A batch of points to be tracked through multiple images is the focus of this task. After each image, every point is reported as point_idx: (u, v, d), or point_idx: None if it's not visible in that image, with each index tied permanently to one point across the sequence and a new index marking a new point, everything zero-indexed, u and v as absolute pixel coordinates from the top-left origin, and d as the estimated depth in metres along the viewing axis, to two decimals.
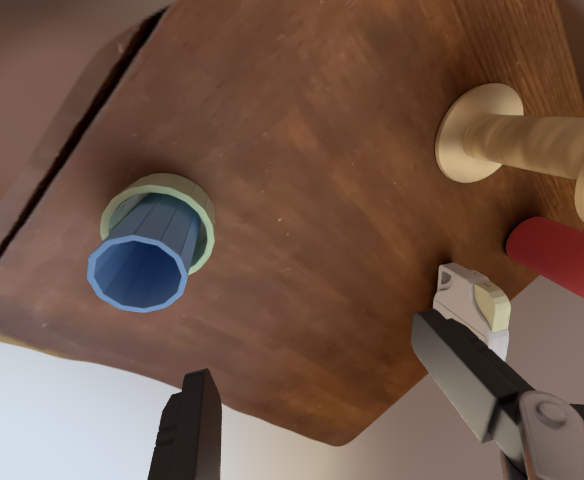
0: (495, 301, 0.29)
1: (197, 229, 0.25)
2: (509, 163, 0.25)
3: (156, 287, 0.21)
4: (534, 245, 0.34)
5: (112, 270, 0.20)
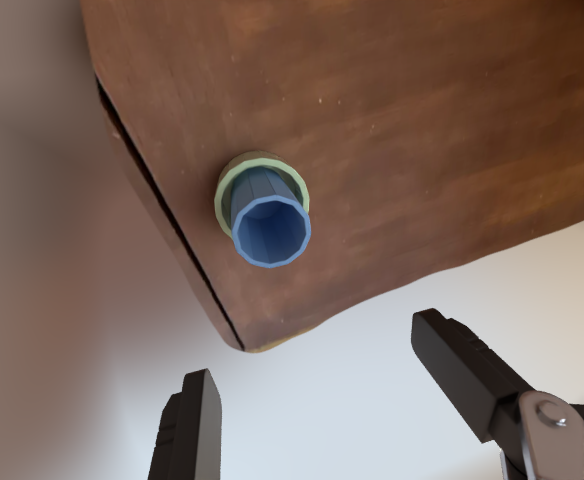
0: None
1: (277, 176, 0.26)
2: None
3: (295, 233, 0.23)
4: None
5: (261, 249, 0.23)
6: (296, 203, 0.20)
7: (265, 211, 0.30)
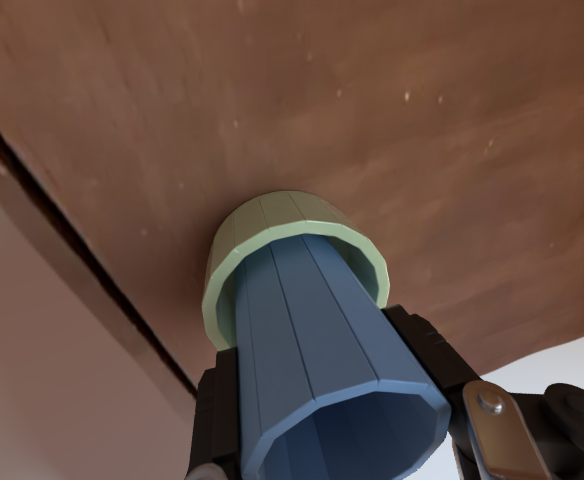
0: None
1: (327, 247, 0.13)
2: None
3: (380, 391, 0.10)
4: None
5: (306, 430, 0.10)
6: (429, 389, 0.07)
7: None
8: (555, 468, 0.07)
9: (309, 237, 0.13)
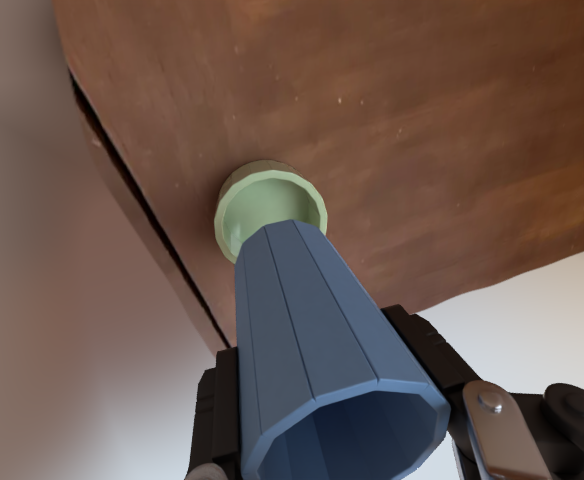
0: None
1: (327, 247, 0.13)
2: None
3: (379, 391, 0.10)
4: None
5: (306, 430, 0.10)
6: (429, 388, 0.07)
7: None
8: (555, 468, 0.07)
9: (309, 237, 0.13)
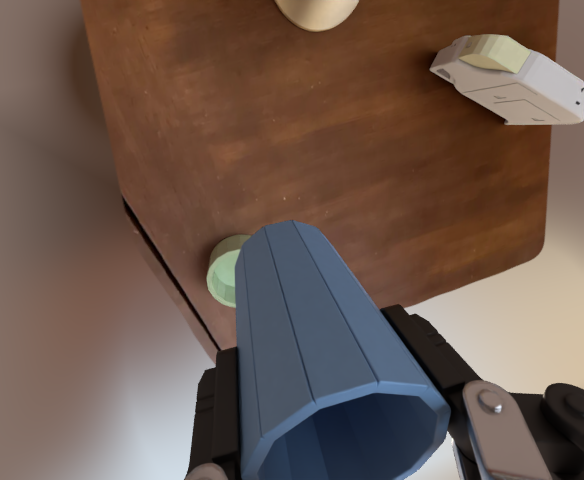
0: (484, 53, 0.25)
1: (327, 248, 0.13)
2: None
3: (380, 392, 0.10)
4: None
5: (306, 431, 0.10)
6: (428, 390, 0.07)
7: None
8: (555, 468, 0.07)
9: (309, 238, 0.13)
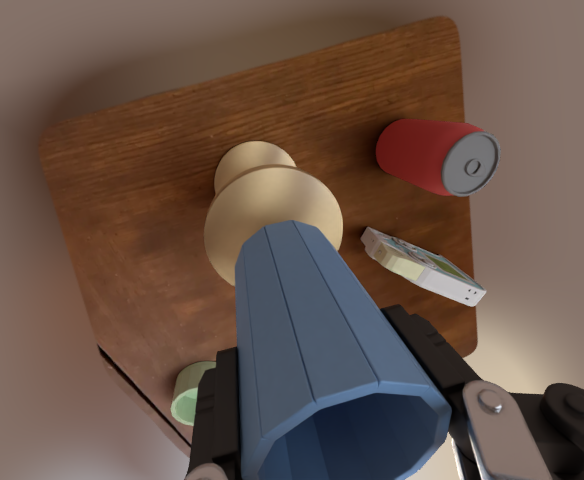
0: (388, 267, 0.31)
1: (328, 248, 0.13)
2: None
3: (380, 392, 0.10)
4: (393, 172, 0.32)
5: (306, 431, 0.10)
6: (429, 390, 0.07)
7: None
8: (555, 468, 0.07)
9: (309, 238, 0.13)
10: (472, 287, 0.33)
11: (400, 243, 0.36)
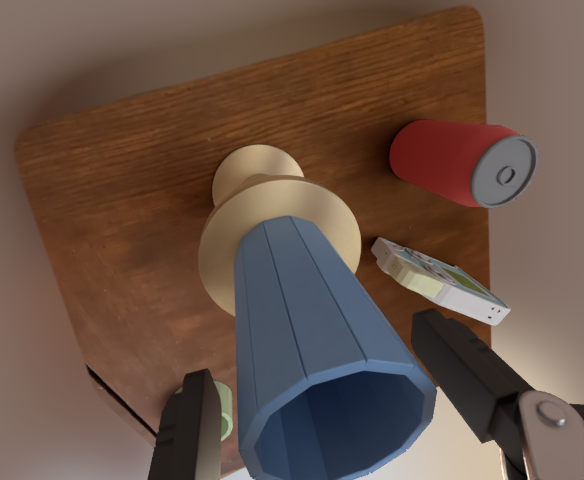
0: (404, 284, 0.28)
1: (323, 242, 0.13)
2: None
3: (372, 378, 0.11)
4: (409, 179, 0.29)
5: (301, 415, 0.11)
6: (414, 369, 0.07)
7: None
8: None
9: (306, 232, 0.14)
10: (496, 305, 0.30)
11: (415, 255, 0.34)
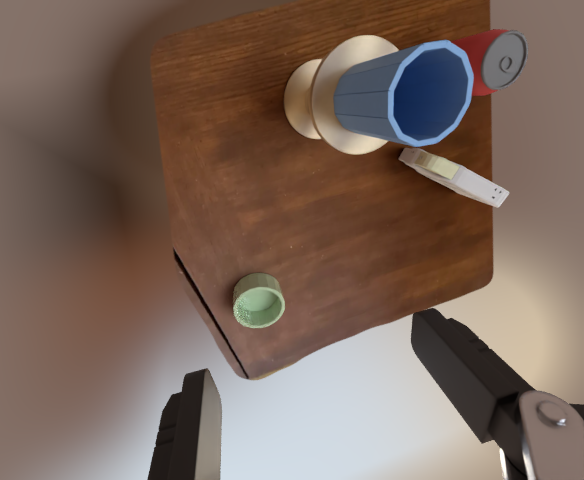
0: (429, 166, 0.38)
1: None
2: None
3: (433, 116, 0.20)
4: None
5: None
6: (465, 55, 0.17)
7: None
8: None
9: None
10: (498, 186, 0.39)
11: None
